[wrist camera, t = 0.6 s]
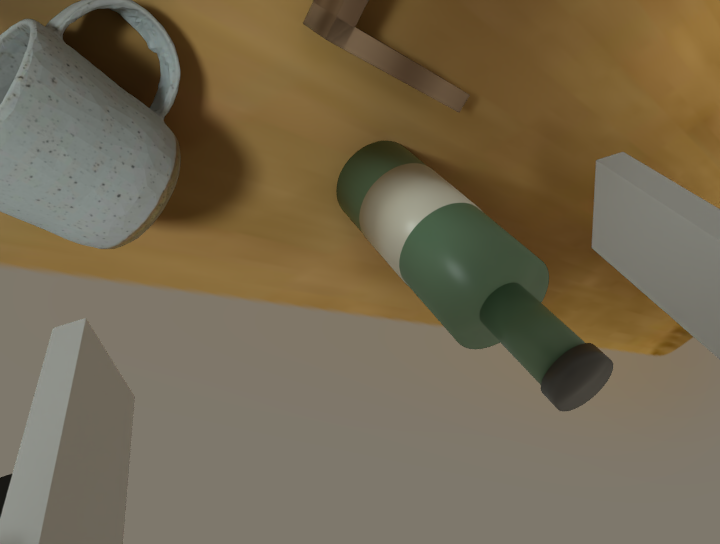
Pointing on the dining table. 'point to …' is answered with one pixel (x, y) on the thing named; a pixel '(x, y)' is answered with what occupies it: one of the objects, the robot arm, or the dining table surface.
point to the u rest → (377, 49)
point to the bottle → (467, 269)
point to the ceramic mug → (84, 133)
